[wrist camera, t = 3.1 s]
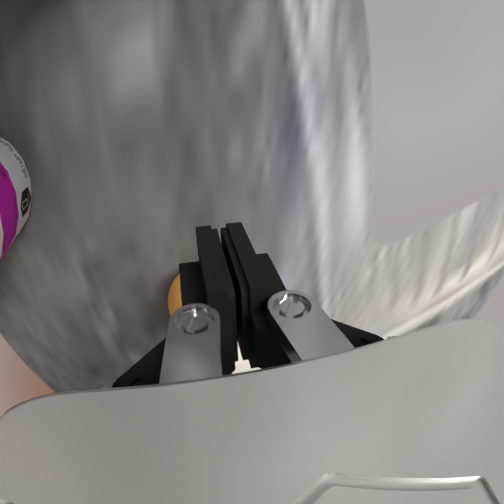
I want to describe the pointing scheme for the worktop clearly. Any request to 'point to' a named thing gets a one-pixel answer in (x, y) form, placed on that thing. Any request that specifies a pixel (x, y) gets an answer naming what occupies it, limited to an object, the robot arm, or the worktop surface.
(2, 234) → the supplement can
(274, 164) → the worktop surface
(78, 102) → the worktop surface
